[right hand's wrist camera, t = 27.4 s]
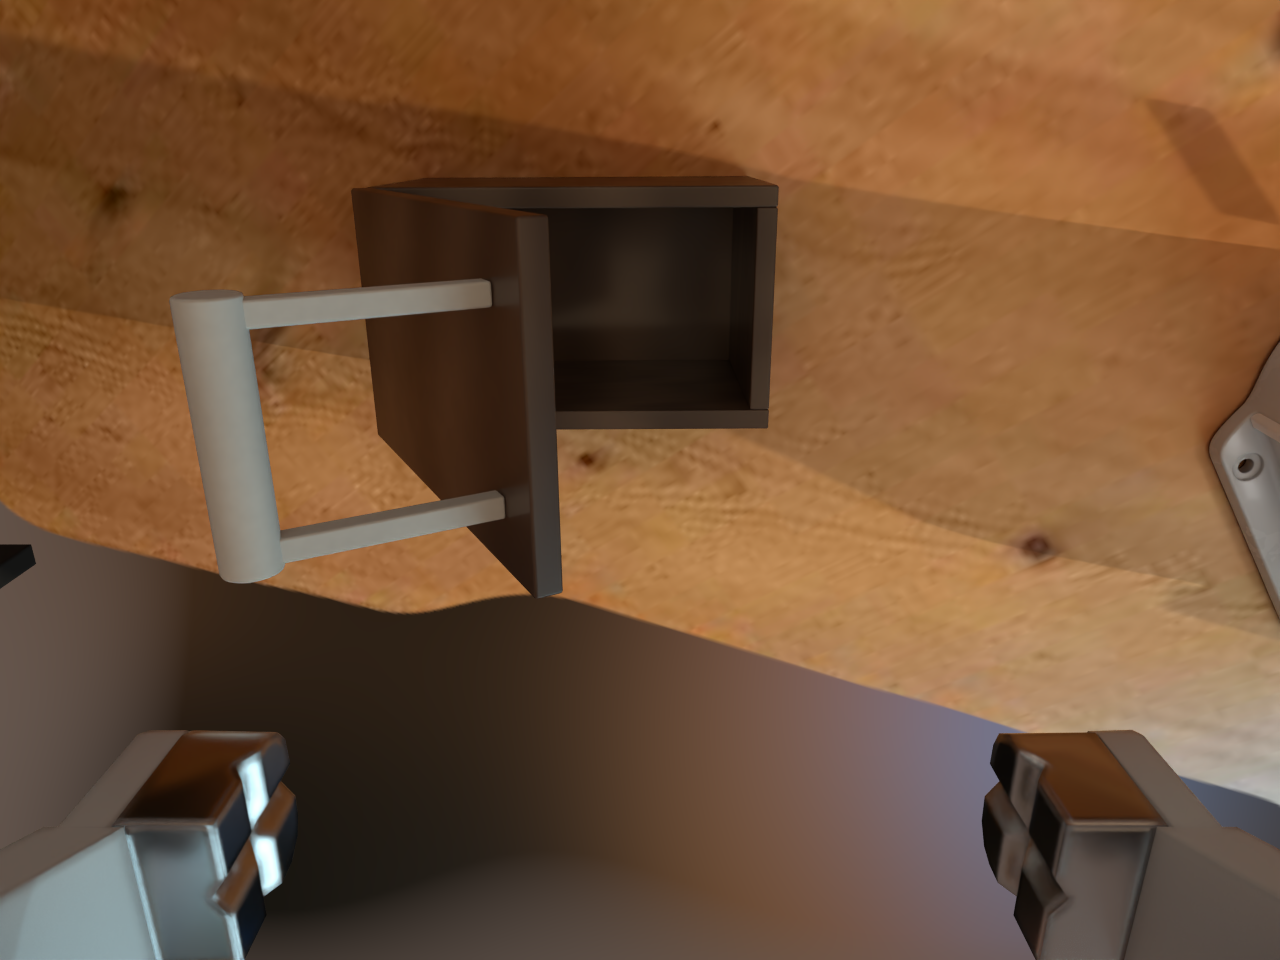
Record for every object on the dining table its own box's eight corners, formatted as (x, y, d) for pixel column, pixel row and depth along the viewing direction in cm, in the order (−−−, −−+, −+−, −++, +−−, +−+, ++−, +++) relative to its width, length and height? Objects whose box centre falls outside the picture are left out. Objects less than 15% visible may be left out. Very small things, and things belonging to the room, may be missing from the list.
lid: (549, 214, 22) (160, 231, 18) (564, 593, 26) (241, 674, 22) (372, 187, 37) (134, 194, 33) (397, 432, 40) (185, 464, 36)
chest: (748, 176, 47) (778, 185, 37) (742, 371, 51) (768, 428, 40) (424, 177, 47) (364, 187, 37) (440, 372, 51) (390, 430, 41)
